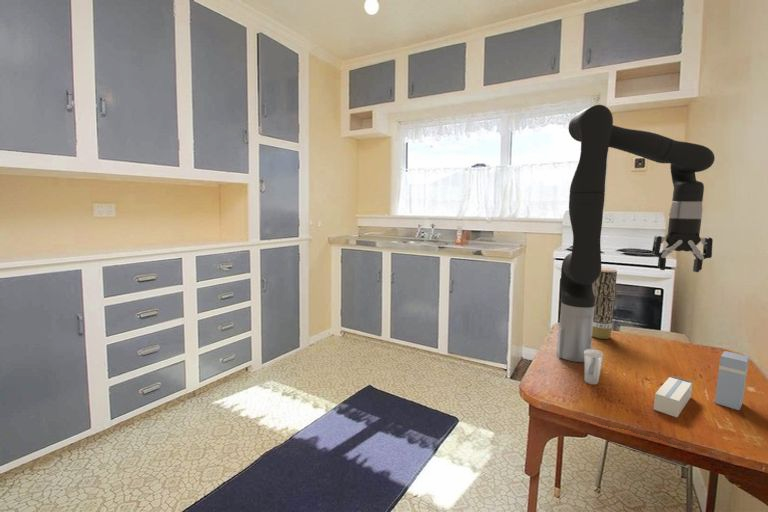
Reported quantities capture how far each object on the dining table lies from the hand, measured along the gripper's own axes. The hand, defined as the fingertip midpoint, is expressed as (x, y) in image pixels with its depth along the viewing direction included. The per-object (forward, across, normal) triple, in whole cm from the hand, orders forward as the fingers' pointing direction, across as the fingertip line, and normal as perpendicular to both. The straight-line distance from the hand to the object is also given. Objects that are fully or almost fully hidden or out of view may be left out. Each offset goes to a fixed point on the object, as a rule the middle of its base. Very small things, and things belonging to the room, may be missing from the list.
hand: (678, 270), depth 114 cm
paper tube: (+28, -16, +16) cm, 36 cm away
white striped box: (+28, -9, -31) cm, 43 cm away
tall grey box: (+28, +4, -26) cm, 39 cm away
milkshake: (+28, -26, -25) cm, 46 cm away
